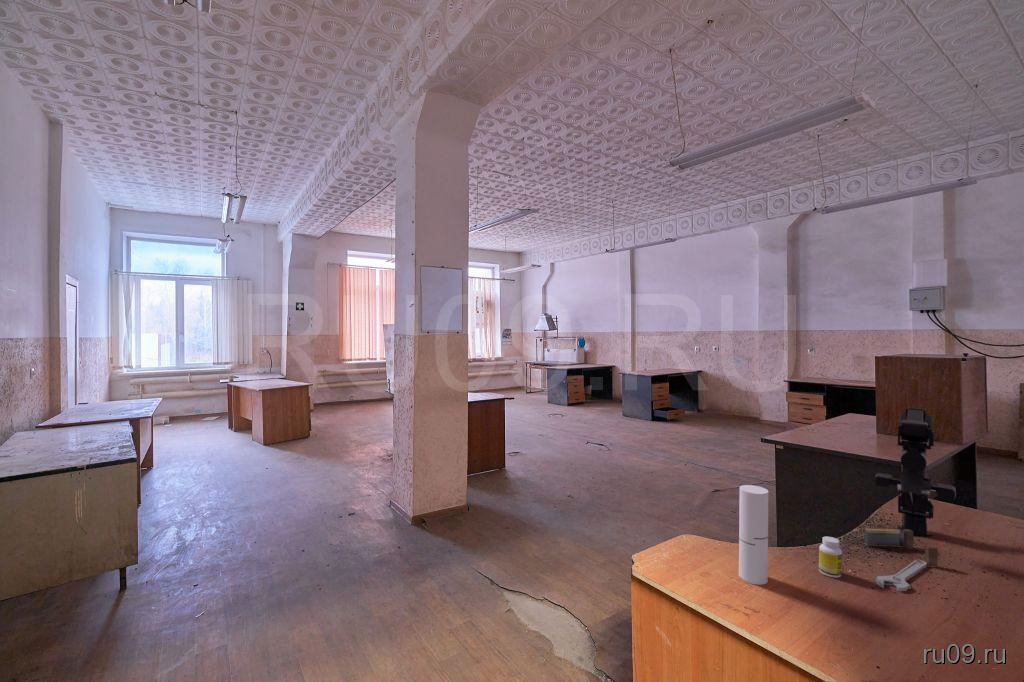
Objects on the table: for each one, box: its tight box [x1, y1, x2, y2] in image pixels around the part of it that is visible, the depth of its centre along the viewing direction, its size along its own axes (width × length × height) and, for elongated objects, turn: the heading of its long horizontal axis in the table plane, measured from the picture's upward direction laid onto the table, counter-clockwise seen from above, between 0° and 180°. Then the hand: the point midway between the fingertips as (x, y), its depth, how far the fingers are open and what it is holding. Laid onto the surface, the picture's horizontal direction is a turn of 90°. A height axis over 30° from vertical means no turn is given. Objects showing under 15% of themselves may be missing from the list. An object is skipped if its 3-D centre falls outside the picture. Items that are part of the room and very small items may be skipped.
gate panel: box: [864, 528, 904, 547], centre depth 147 cm, size 11×2×5 cm, turn 84°
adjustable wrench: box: [875, 559, 928, 592], centre depth 129 cm, size 25×6×2 cm, turn 117°
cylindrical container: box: [738, 484, 769, 586], centre depth 128 cm, size 7×7×25 cm
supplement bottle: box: [818, 536, 843, 579], centre depth 131 cm, size 5×5×10 cm
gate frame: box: [902, 529, 939, 567], centre depth 141 cm, size 14×3×6 cm, turn 166°
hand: (913, 512), depth 143 cm, fingers closed
